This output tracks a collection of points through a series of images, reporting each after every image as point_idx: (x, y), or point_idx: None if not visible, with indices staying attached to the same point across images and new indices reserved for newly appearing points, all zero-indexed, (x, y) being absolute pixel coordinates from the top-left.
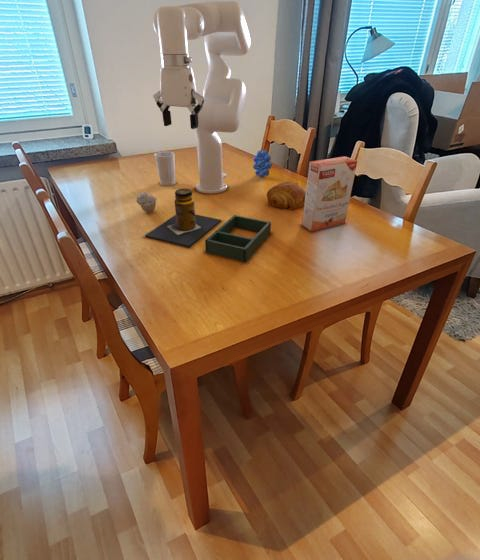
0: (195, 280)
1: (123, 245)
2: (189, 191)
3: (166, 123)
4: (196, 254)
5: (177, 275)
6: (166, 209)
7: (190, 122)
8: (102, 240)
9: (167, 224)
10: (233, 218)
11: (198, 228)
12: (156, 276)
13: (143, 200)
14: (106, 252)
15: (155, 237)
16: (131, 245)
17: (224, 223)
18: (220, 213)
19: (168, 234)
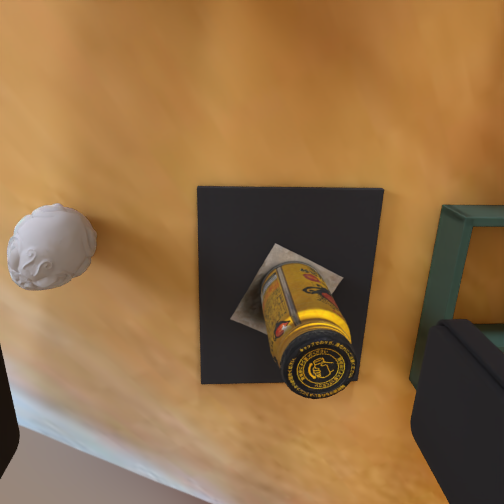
0: (429, 472)
1: (178, 435)
2: (345, 359)
3: (6, 458)
4: (388, 394)
5: (383, 473)
6: (119, 178)
7: (446, 494)
8: (102, 439)
9: (220, 301)
10: (468, 242)
11: (336, 285)
12: (342, 492)
13: (61, 281)
14: (164, 473)
15: (238, 381)
16: (198, 427)
17: (450, 295)
18: (353, 118)
19: (264, 353)
